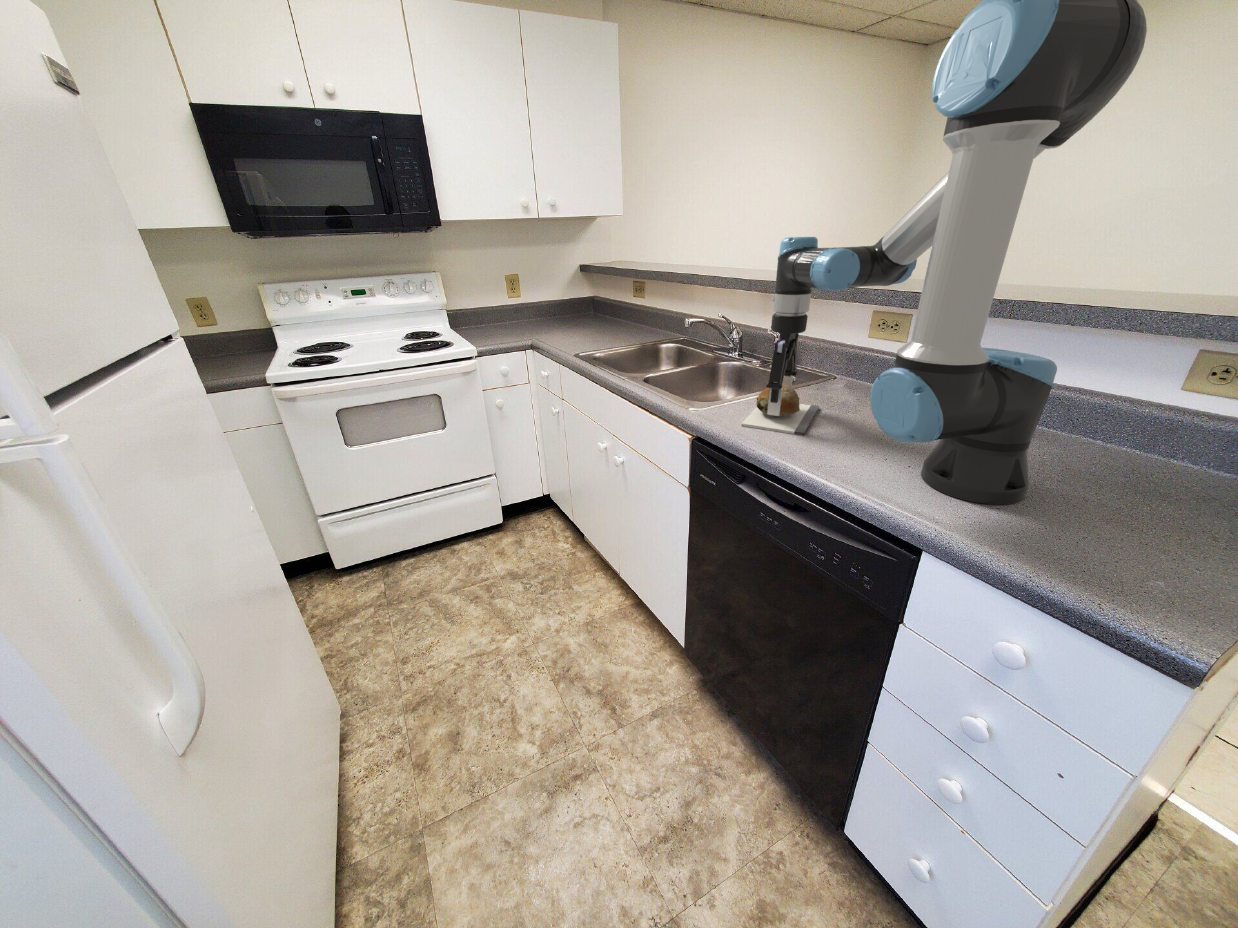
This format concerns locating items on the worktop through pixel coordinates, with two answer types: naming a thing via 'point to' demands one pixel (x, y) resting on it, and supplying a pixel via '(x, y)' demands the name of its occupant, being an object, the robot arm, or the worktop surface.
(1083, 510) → the worktop surface
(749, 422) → the mat
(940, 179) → the robot arm
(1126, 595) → the worktop surface
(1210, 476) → the worktop surface
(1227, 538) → the worktop surface
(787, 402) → the bread roll
